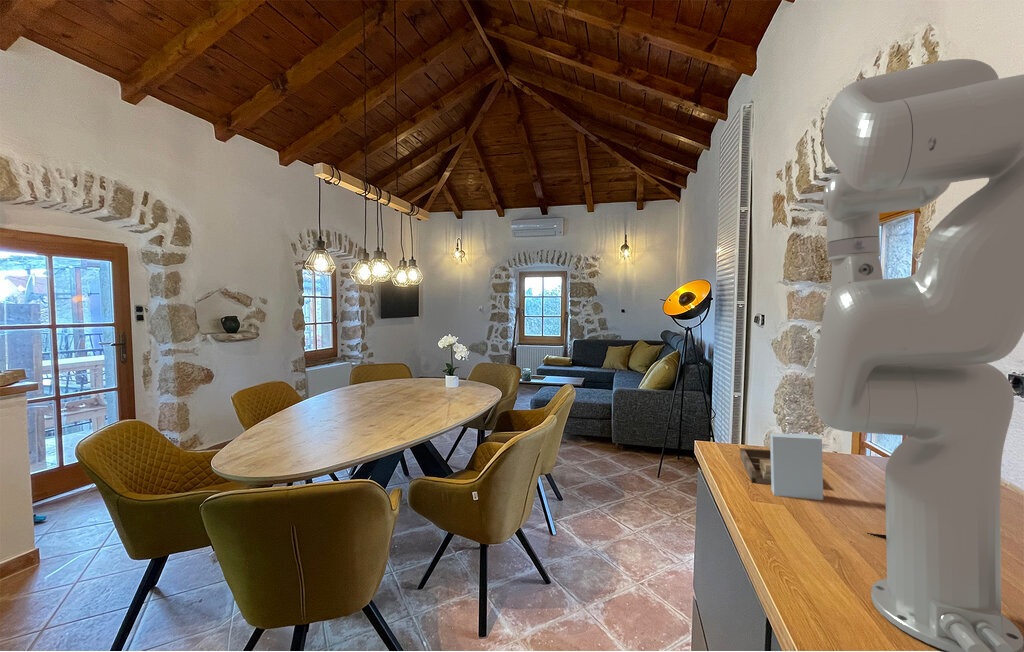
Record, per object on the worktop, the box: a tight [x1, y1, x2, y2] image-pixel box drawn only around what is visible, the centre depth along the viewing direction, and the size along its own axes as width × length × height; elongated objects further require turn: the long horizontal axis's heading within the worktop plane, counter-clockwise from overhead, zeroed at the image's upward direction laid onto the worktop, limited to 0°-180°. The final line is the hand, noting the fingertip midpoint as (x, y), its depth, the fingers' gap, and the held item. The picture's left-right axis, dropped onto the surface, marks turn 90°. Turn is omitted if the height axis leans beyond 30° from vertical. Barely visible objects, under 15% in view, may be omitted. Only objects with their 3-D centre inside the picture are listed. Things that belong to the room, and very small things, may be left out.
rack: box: [739, 447, 771, 485], centre depth 93 cm, size 15×12×4 cm
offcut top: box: [760, 459, 771, 474], centre depth 89 cm, size 4×6×2 cm, turn 78°
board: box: [769, 432, 824, 501], centre depth 82 cm, size 2×8×12 cm, turn 69°
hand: (855, 343), depth 78 cm, fingers open, 9 cm apart
